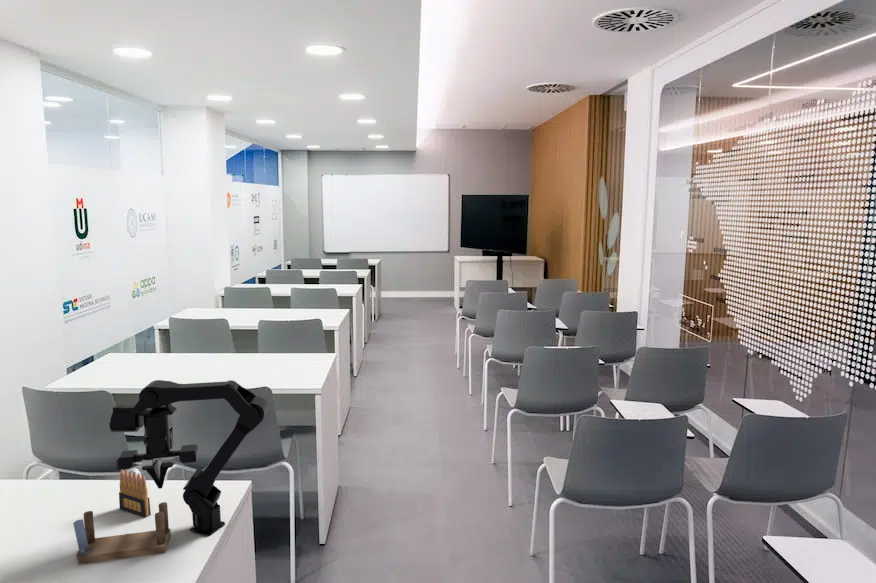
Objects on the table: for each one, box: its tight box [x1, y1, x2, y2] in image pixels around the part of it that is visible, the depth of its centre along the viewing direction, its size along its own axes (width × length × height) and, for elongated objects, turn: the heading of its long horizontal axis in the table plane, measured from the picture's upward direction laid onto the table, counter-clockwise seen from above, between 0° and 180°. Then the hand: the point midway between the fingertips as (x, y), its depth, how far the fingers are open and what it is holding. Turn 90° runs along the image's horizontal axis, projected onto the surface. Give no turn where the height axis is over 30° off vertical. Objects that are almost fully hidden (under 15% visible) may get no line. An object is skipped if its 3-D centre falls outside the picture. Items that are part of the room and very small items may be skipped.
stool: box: [75, 501, 172, 566], centre depth 147 cm, size 20×8×10 cm, turn 105°
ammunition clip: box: [118, 469, 152, 519], centre depth 166 cm, size 11×2×12 cm, turn 64°
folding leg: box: [73, 519, 88, 554], centre depth 142 cm, size 2×2×8 cm
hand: (160, 487), depth 155 cm, fingers closed
